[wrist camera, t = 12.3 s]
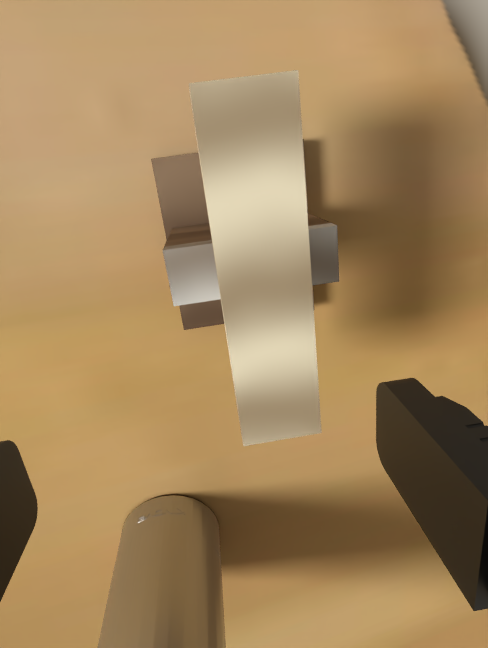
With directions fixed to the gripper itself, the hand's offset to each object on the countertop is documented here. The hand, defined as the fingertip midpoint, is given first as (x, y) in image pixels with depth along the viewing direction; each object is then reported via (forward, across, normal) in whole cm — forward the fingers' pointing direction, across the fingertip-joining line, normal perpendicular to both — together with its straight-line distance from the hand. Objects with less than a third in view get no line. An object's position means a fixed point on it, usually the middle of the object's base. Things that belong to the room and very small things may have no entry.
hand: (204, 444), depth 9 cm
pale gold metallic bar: (+13, -3, -1) cm, 14 cm away
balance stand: (+23, -3, -1) cm, 23 cm away
